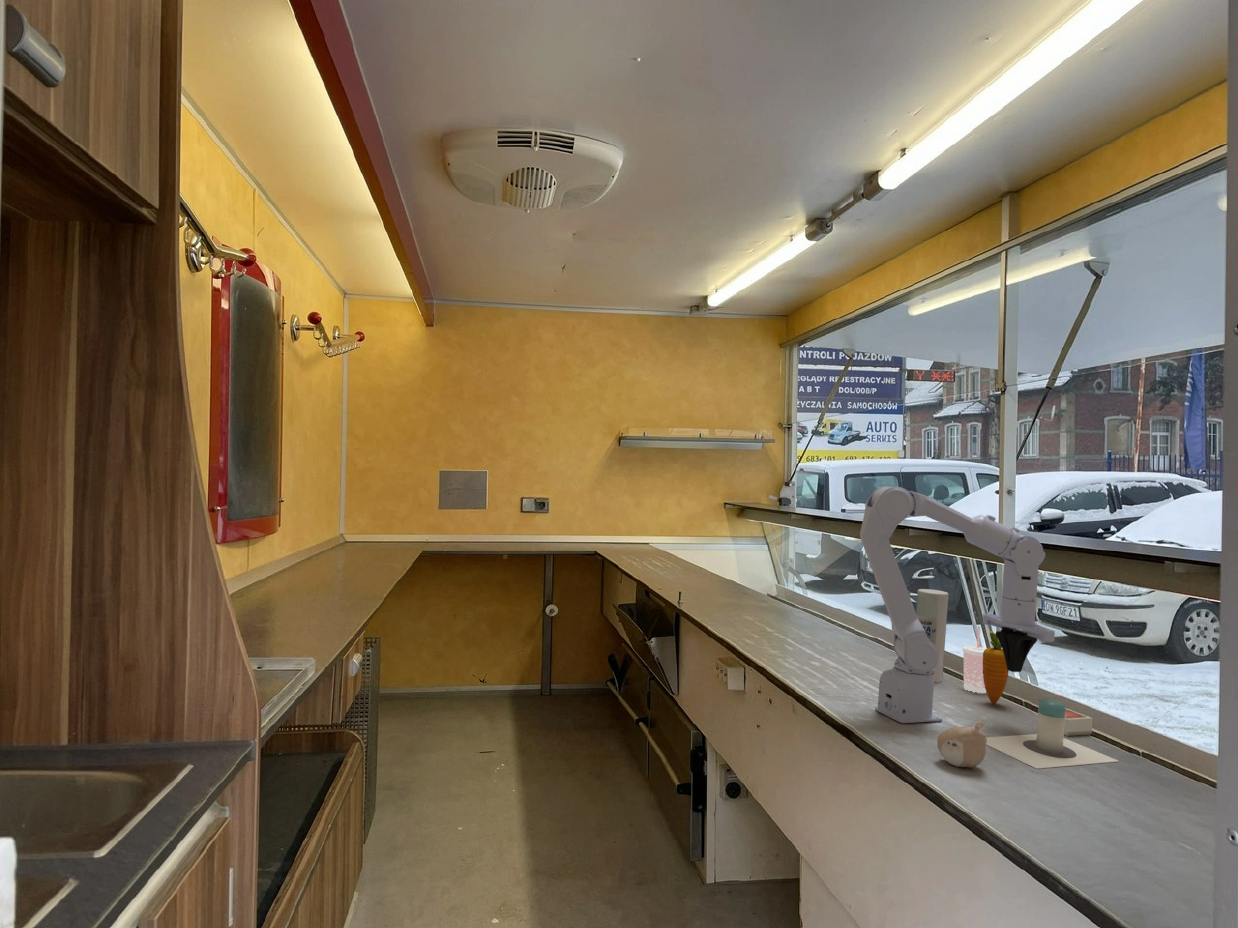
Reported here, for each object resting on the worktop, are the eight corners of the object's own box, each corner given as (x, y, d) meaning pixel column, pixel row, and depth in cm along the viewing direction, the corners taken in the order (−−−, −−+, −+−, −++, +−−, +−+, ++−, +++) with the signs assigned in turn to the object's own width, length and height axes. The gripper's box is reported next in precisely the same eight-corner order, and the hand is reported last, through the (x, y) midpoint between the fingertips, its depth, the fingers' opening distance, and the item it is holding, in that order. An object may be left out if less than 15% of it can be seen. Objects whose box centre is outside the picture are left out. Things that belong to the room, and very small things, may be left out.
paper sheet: (1036, 768, 119) (1036, 767, 119) (974, 738, 131) (974, 737, 131) (1119, 761, 125) (1119, 760, 125) (1051, 733, 137) (1051, 732, 137)
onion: (956, 774, 115) (960, 722, 115) (929, 758, 121) (932, 708, 121) (992, 772, 116) (995, 721, 116) (963, 756, 123) (966, 707, 123)
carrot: (1006, 702, 155) (1010, 630, 155) (1007, 709, 151) (1012, 635, 151) (979, 698, 157) (984, 627, 157) (980, 704, 153) (984, 631, 153)
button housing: (1067, 735, 136) (1068, 719, 136) (1039, 724, 142) (1040, 708, 142) (1091, 734, 138) (1092, 717, 138) (1063, 722, 144) (1064, 707, 144)
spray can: (905, 675, 172) (911, 589, 172) (926, 673, 175) (931, 588, 175) (928, 683, 166) (934, 594, 166) (949, 681, 169) (954, 593, 169)
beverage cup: (987, 696, 159) (991, 630, 159) (956, 689, 163) (960, 625, 163) (993, 690, 164) (997, 626, 164) (963, 684, 168) (967, 621, 168)
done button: (1066, 729, 138) (1067, 718, 138) (1047, 721, 142) (1047, 710, 142) (1083, 728, 139) (1084, 717, 139) (1063, 720, 143) (1064, 709, 143)
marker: (1050, 753, 126) (1053, 706, 126) (1030, 744, 130) (1033, 698, 130) (1068, 752, 127) (1071, 705, 127) (1048, 743, 131) (1050, 698, 131)
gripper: (1069, 606, 134) (1064, 681, 134) (1004, 591, 148) (999, 660, 148) (1039, 606, 132) (1034, 682, 132) (976, 591, 146) (971, 660, 146)
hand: (1014, 670), depth 140 cm, fingers closed
